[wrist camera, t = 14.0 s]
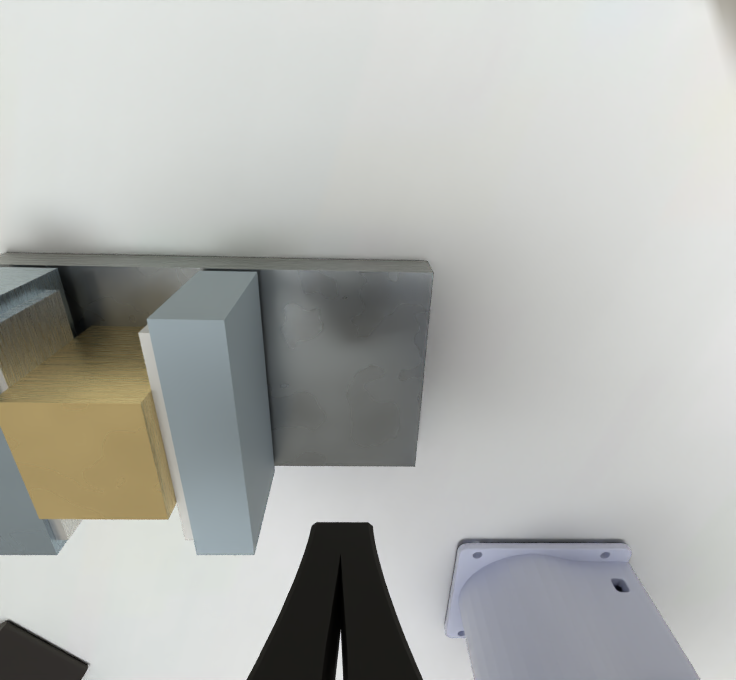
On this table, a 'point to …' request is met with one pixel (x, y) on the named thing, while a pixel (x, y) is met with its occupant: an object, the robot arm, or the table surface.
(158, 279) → the vise
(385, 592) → the robot arm
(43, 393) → the brass block
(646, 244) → the table surface
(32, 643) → the phone stand
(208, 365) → the sliding jaw
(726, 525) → the table surface
